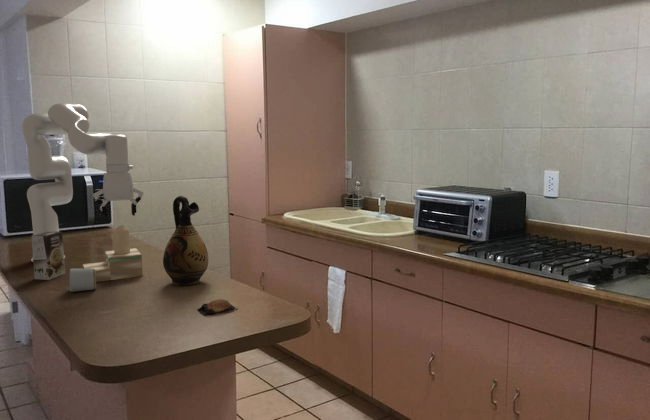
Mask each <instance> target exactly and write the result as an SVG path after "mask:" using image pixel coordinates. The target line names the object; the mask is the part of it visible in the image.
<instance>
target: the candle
mask: <svg viewBox="0 0 650 420" xmlns="http://www.w3.org/2000/svg"><path fill="white" fill-rule="evenodd" d="M112 234H113V235H112V237H113V239H112V241H113V250H114V253H115V254H127V253H130V249H131V246H130V243H131V242H130V229H129V228H128V227H127V226H124V225H118V226H117V227H115V228H114V229H113V230H112Z"/></svg>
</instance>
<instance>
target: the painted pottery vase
mask: <svg viewBox="0 0 650 420" xmlns="http://www.w3.org/2000/svg"><path fill="white" fill-rule="evenodd" d="M180 207H181V209H180ZM199 211H200V207H199V205H198V204H197V202H195V201H193V202H192V203H190V202H189V199H188V198H187V197H186V196H183V195H179V196H176V197H175V199H174V200H173V201H172V212H173V218H174V224H175V230H174V232H173V233H171V236H170V237H169V239H168V241H167V243H166V244H165V245H166V246H165V249H164V251H163V257H162V265H163V269H164V271H165V273H166V274H167V276H168V277H169V278H170V279H171V282H172V284H173V285H175V286H177V287H181V286H183V287H184V286H185V287H187V286H188V287H189V286H194V285H196V284H199V283H200V279H201V278H202V276H204V274H205V273H206V271H207V269H208V268H209V266H208V265H209V254H208V249H207V247H206V244H205V242H204V240H203V238H202V237H201V234H200V233H199V232H198V230H197V229H196V228H195V226H194V225H193V223H192V221H191V220H192V218H191V216H192V215H195V214H196V213H198V212H199Z"/></svg>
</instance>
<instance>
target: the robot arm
mask: <svg viewBox="0 0 650 420" xmlns="http://www.w3.org/2000/svg"><path fill="white" fill-rule="evenodd" d="M89 117H90V116H89V112H88V109H87V107H85V106H84V105H82V104H79V103H66V102H63V103H62V102H61V103H60V102H59V103H54V104H53V105H51V106H50V107H49V108H48V111H47V112H36V113H35V112H34V113H30V114H28V115H26V116H25V117H24V118H23V120H22V123H21V124H22V126H21V128H22V130H21V131H22V136H23V137H24V140H25V141H24V142H25V144H26V152H27V162H28V171H29V175H30V177H31V178H32V179H33V180H36V181H44V180H45V181H46V180H47V181H48V180H54V182H42V183H36V184H33V185H31V186H29V188H27V191H26V198H27V202H28V204H29V209H30V213H31V223H32V235H36V234H40V233H44V232H60V230H59V229H60V226H59V217H58V214H57V212H56V211H55V210H54V208H53V206H61V205H66V204H68V203H70V202H71V201H72V200H73V196H74V188H73V176H72V168H71V167H72V166H71V163H70V161H69V160H68V158H67V157H65V156H63V155H52V149H51V144H50V142H49V140H48V139H47V138H46V135H47V136H48V135H50V136H55V135H57V136H58V135H59V136H60V135H62V136H63V135H67V139H68V141H69V144H70V145H71V146H72V147H73V148H74V149H75V150H76V151H78V152H80V153H81V154H83V155H88V156H91V155H93V156H95V155H105V165H106V166H105V167H106V168H105V169H106V172H104V173H103V183H102V189H100V190H99V191H96V192H95V193H93V194H92V197H93V198H94V200H95V201H96V203H97V204H99V205H100V206H101V215H102V216H104V218H107V217H108V209H107V208H108V207H107V204H108V202H116V201H117V202H118V201H119V202H120V201H130V202H131V205H130V207H131V216H136V213H137V204H138V203H139V202H140V201H141V200H142V198H143V196H144V191H142V190H139V189H137V188H134V183H133V178H132V174H131V171H130V170H133V167H134V166H133V165H131V164H130V163H129V155H128V154H129V152H128V149H129V148H128V138H127V136H126V135H125V134H113V133H107V132H106V133H101V132H100V133H88V132H89V128H90V122H89ZM134 193H135V194H138V195H137V197H136V198H135V199H134ZM101 195H102V196H103V200H101V199H100V198H99V196H101ZM65 258H66V255H65V254H64V259H65ZM30 260H31V263H33V257H32V258H30Z"/></svg>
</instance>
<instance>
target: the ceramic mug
mask: <svg viewBox="0 0 650 420" xmlns="http://www.w3.org/2000/svg"><path fill="white" fill-rule="evenodd" d="M96 288H97V282H96V270H95V269H91V268H84V269H83V268H70V269H69V291H70V292H71V293H75V292H85V291H93V290H95V289H96Z"/></svg>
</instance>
